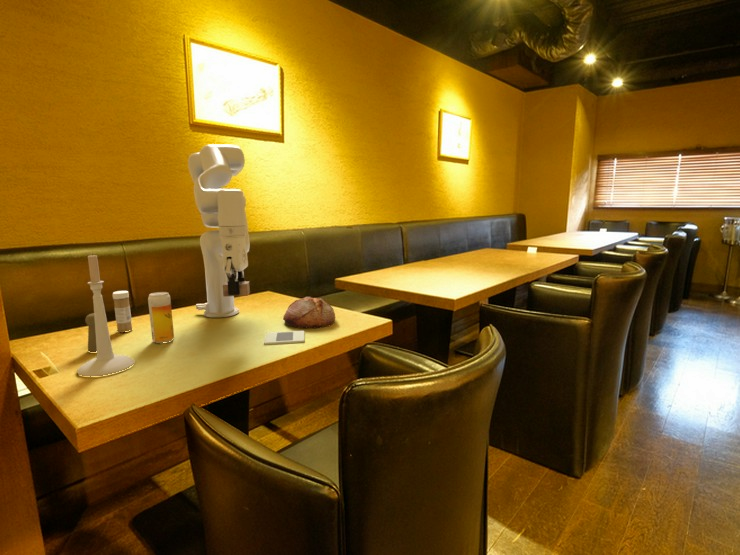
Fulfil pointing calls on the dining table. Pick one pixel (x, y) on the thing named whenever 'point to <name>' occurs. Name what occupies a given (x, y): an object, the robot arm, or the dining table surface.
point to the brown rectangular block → (243, 288)
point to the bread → (309, 313)
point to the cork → (91, 332)
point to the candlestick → (102, 333)
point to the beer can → (161, 317)
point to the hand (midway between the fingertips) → (236, 291)
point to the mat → (284, 337)
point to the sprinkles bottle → (122, 311)
